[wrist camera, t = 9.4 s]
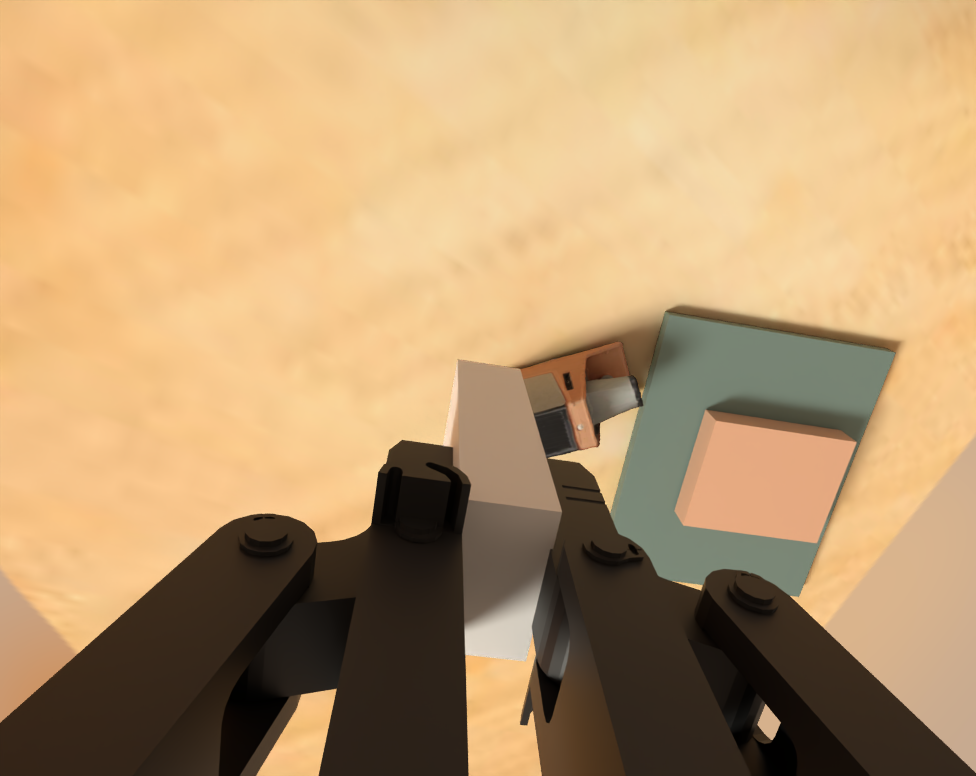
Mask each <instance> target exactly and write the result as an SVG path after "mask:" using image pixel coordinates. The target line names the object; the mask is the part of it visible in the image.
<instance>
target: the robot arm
mask: <svg viewBox="0 0 976 776" xmlns="http://www.w3.org/2000/svg"><path fill="white" fill-rule="evenodd" d="M532 634H533V638H534V644H535V651H536V657H535V661H534V665H533V669H532V673H531V677H530V681H529V685H528V689H527V693H526V697H525V701H524V705H523V709H522V714H521V721H520V725H527V724H528V720H529V716H530V713H531V712H532V711H533V713H534V721H535V728H536V735H537V743H538V750H539V757H540V765H541V772H542V776H976V773H975V772H974V771H973V770H972V769H971V768H970V767H969V766H968V765H967V764H966V763H965V762H964V761H962V760H961V759H960V758H959V757H958V756H957V755H956V754H955V753H954V752H953V751H952V750H951V749H950V748H949V747H948V746H947V745H946V744H945V743H943V741H942V740H940V739H939V738H938V737H937V736H936V735H935V734H934V733H933V732H932V731H931V730H930V729H929V728H928V727H927V726H926V725H925V724H924V723H923V722H922V721H920V719H918V718H917V717H916V716H915V715H914V714H913V713H912V712H911V711H910V710H909V709H908V708H907V707H906V706H905V705H904V704H903V703H902V702H900V701H899V700H898V699H897V698H896V697H895V696H894V695H893V694H892V693H891V692H890V691H889V690H888V689H887V688H886V687H885V686H884V685H883V684H882V683H881V682H880V681H879V680H877V679H876V678H875V677H874V676H873V675H872V674H871V673H870V672H869V671H868V670H867V669H866V668H865V667H864V666H863V665H862V664H861V663H860V662H858V661H857V660H856V659H855V658H854V657H853V656H852V655H851V654H850V653H849V652H848V651H847V650H846V649H845V648H844V647H843V646H842V645H841V644H840V643H839V642H837V641H836V640H835V639H834V638H833V637H832V636H831V635H830V634H829V633H828V632H827V631H826V630H825V629H824V628H823V627H822V626H821V625H820V624H819V623H818V622H816V621H815V620H814V619H813V618H812V617H811V616H810V615H809V614H808V613H807V612H806V611H805V610H804V609H803V608H802V607H801V606H800V605H799V604H798V603H797V602H795V601H794V600H793V599H792V598H791V597H790V596H789V595H788V594H787V593H785V592H784V591H783V590H781V589H780V588H779V587H777V586H776V585H775V584H773V583H771V582H769V581H767V580H765V579H763V578H762V577H761V576H759V575H756V574H754V573H749V572H747V571H743V570H732V569H721V570H716V571H712V572H711V573H710V574H709V575H708V576H707V577H706V578H705V581H704V584H703V587H702V590H701V591H700V590H697V589H694V588H691V587H688V586H685V585H682V584H679V583H675V582H672V581H670V580H667V579H664V578H662V577H659V576H658V575H657V572H656V570H655V568H654V566H653V564H652V562H651V560H650V557H649V556H648V555H647V554H646V552H645V551H644V550H643V548H642V547H640V546H639V545H638V544H636V543H635V542H633V541H632V540H631V539H629V538H627V537H624V536H622V535H620V534H618V532H617V529H616V527H615V524H614V522H613V520H612V517H611V515H610V513H609V510H608V508H607V505H605V501H604V498H603V496H602V494H601V493H600V489H599V486H598V484H597V482H596V479H595V477H594V476H593V475H592V474H591V473H590V472H589V471H588V470H587V469H585V468H584V467H583V466H582V465H581V464H580V463H576V462H569V461H562V460H555V459H548V458H546V455H545V452H544V448H543V445H542V442H541V438H540V435H539V431H538V428H537V425H536V421H535V418H534V414H533V411H532V408H531V404H530V401H529V397H528V394H527V390H526V387H525V384H524V380H523V377H522V373H521V370H520V369H518V368H511V367H505V366H498V365H492V364H485V363H479V362H472V361H466V360H459V359H458V360H457V366H456V372H455V378H454V383H453V389H452V395H451V401H450V407H449V413H448V419H447V425H446V431H445V437H444V443H443V446H441V445H434V444H427V443H420V442H412V441H405V440H402V441H400V442H399V443H398V444H396V445H395V446H394V447H393V448H391V449H390V450H389V453H388V458H387V463H386V464H384V465H383V466H382V468H381V469H380V471H379V472H378V479H377V487H376V494H375V501H374V509H373V516H372V523H371V526H370V527H369V528H368V529H367V530H366V531H364V532H363V533H361V534H359V535H357V536H355V537H352V538H348V539H345V540H340V541H333V542H322V543H317V539H316V536H315V533H314V531H313V530H312V529H311V528H310V527H308V526H307V525H306V524H305V523H304V522H301V521H299V520H296V519H294V518H291V517H289V516H282V515H276V514H255V515H249V516H246V517H242V518H238V519H235V520H233V521H231V522H229V523H228V524H226V525H224V526H223V527H221V528H219V529H218V530H217V531H216V532H215V533H214V534H213V535H212V536H210V537H209V538H208V539H207V540H206V541H205V542H204V543H203V544H201V545H200V546H199V547H198V548H197V549H196V550H195V551H194V552H192V553H191V554H190V555H189V556H188V557H187V558H186V559H184V560H183V561H182V562H181V563H180V564H179V565H178V566H177V567H175V568H174V569H173V570H172V571H171V572H170V573H169V574H168V575H166V576H165V577H164V578H163V579H162V580H161V581H160V582H159V583H157V584H156V585H155V586H154V587H153V588H152V589H151V590H150V591H148V592H147V593H146V594H145V595H144V596H143V597H142V598H141V599H139V600H138V601H137V602H136V603H135V604H134V605H133V606H131V607H130V608H129V609H128V610H127V611H126V612H125V613H124V614H122V615H121V616H120V617H119V618H118V619H117V620H116V621H115V622H113V623H112V624H111V625H110V626H109V627H108V628H107V629H106V630H104V631H103V632H102V633H101V634H100V635H99V636H98V637H97V638H95V639H94V640H93V641H92V642H91V643H90V644H89V645H87V646H86V647H85V648H84V649H83V650H82V651H81V652H80V653H78V654H77V655H76V656H75V657H74V658H73V659H72V660H71V661H70V662H68V663H67V664H66V665H65V666H64V667H63V668H62V669H60V670H59V671H58V672H57V673H56V674H55V675H54V676H53V677H51V678H50V679H49V680H48V681H47V682H46V683H45V684H44V685H43V686H41V687H40V688H39V689H38V690H37V691H36V692H34V693H33V694H32V695H31V696H30V697H29V698H28V699H27V700H25V701H24V702H23V703H22V704H21V705H20V706H19V707H18V708H17V709H15V710H14V711H13V712H12V713H11V714H10V715H9V716H7V717H6V718H5V719H4V720H3V721H2V722H1V723H0V776H256V775H257V773H258V771H259V770H260V768H261V766H262V765H263V763H264V761H265V760H266V758H267V756H268V755H269V753H270V751H271V750H272V748H273V746H274V745H275V743H276V742H277V740H278V738H279V737H280V735H281V733H282V732H283V730H284V728H285V727H286V725H287V723H288V722H289V720H290V718H291V717H292V715H293V713H294V712H295V710H296V708H297V706H298V703H299V700H300V697H301V694H307V693H313V692H319V691H325V690H331V689H337V691H336V695H335V700H334V705H333V710H332V715H331V719H330V724H329V729H328V734H327V738H326V743H325V748H324V753H323V758H322V762H321V767H320V772H319V776H468V738H467V701H466V664H465V655H472V656H482V657H491V658H500V659H510V660H519V661H526V659H527V655H528V651H529V647H530V642H531V638H532ZM765 704H766V705H767V706H768V707H769V708H770V710H771V711H772V712H773V713H774V715H775V716H776V717H777V718H778V719H779V721H780V722H781V724H780V726H779V728H778V731H777V733H776V736H775V737H774V739H773V740H770V739H769V738H768V737H767V736H766V735H765V734H764V733H763V732H762V730H761V729H760V728H759V726H758V725H757V724H758V721H759V719H760V716H761V714H762V711H763V709H764V706H765Z"/></svg>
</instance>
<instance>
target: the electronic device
mask: <svg viewBox="0 0 976 776" xmlns="http://www.w3.org/2000/svg"><path fill="white" fill-rule="evenodd" d="M520 370H521V373H522V377H523V380H524V384H525V387H526V390H527V394H528V397H529V401H530V404H531V408H532V411H533V414H534V418H535V421H536V425H537V428H538V431H539V435H540V438H541V442H542V445H543V448H544V452H545V455H546V458H549V457H553V456H558V455H563V454H566V453H571V452H573V451H577V450H585V449H588V448H592V447H598V446H599V445H600V443H599V441H600V423H601V422H603V421H605V420H607V419H609V418H611V417H614V416H616V415H618V414H620V413H623V412H625V411H628V410H630V409H633V408H636V407H642V406H643V400H642V398H641V393H640V391H639V388H638V383H637V380H636V378H635V377H634V376H632V375H630V374H629V370H628V367H627V362H626V358H625V354H624V350H623V343H622V342H615V343H612V344H607V345H604V346H602V347H598V348H594V349H591V350H587V351H583V352H580V353H576V354H573V355H569V356H565V357H561V358H557V359H551V360H550V361H546V362H542V363H539V364H536V365H534V366H530V367H527V368H523V369H520Z"/></svg>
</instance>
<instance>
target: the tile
mask: <svg viewBox="0 0 976 776" xmlns="http://www.w3.org/2000/svg"><path fill="white" fill-rule="evenodd" d="M856 443H857V442H856V441H855V440H853V439H852V438H851V437H849V436H848V435H847V434H845V433H844V432H843V431H841V430H836V429H830V428H823V427H817V426H810V425H803V424H797V423H790V422H784V421H777V420H771V419H764V418H758V417H751V416H745V415H738V414H731V413H725V412H718V411H712V410H705V412H704V416H703V419H702V422H701V425H700V429H699V432H698V435H697V438H696V442H695V445H694V448H693V452H692V455H691V458H690V461H689V465H688V468H687V471H686V474H685V478H684V481H683V484H682V487H681V491H680V494H679V497H678V500H677V504H676V507H675V510H674V511H675V513H676V514H677V516H678V518H679V519H680V521H681V523H682V524H683V526H691V527H698V528H706V529H713V530H721V531H728V532H736V533H743V534H751V535H758V536H766V537H773V538H781V539H788V540H796V541H803V542H811V543H817V542H818V539H819V537H820V534H821V532H822V529H823V527H824V524H825V522H826V519H827V516H828V514H829V511H830V509H831V506H832V504H833V501H834V499H835V496H836V494H837V491H838V489H839V486H840V484H841V481H842V478H843V476H844V473H845V471H846V468H847V466H848V463H849V461H850V458H851V456H852V453H853V451H854V448H855V446H856Z"/></svg>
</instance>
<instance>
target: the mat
mask: <svg viewBox="0 0 976 776" xmlns="http://www.w3.org/2000/svg"><path fill="white" fill-rule="evenodd" d="M894 356H895V352H893V351H891V350H889V349H887V348H881V347H875V346H869V345H863V344H857V343H851V342H845V341H839V340H833V339H827V338H821V337H815V336H809V335H803V334H797V333H791V332H785V331H779V330H774V329H768V328H762V327H756V326H750V325H744V324H738V323H732V322H726V321H720V320H714V319H708V318H702V317H696V316H690V315H684V314H678V313H672V312H666V311H665V315H664V318H663V322H662V326H661V329H660V333H659V337H658V340H657V344H656V348H655V351H654V355H653V359H652V362H651V366H650V370H649V373H648V377H647V381H646V385H645V388H644V392H643V396H642V400H643V406H642V407H639V410H638V414H637V418H636V421H635V425H634V429H633V432H632V436H631V440H630V443H629V447H628V451H627V455H626V458H625V462H624V466H623V469H622V473H621V477H620V480H619V484H618V488H617V491H616V495H615V499H614V502H613V506H612V510H611V513H610V515H611V517H612V520H613V522H614V524H615V527H616V529H617V532H618V534H620V535H622V536H624V537H627V538H629V539H631V540H632V541H633V542H635V543H636V544H638V545H639V546H640V547H642V548H643V550H644V551H645V552H646V554H647V555H648V556H649V557H650V560H651V562H652V564H653V566H654V568H655V570H656V572H657V575H658V576H659V577H662V578H664V579H667V580H670V581H676V582H684V583H692V584H700V585H703V584H704V581H705V578H706V577H707V576H708V575H709V574H710V573H711V572H712V571H716V570H721V569H732V570H743V571H747V572H749V573H754V574H756V575H759V576H761V577H762V578H763V579H765V580H767V581H769V582H771V583H773V584H775V585H776V586H777V587H779V588H780V589H781V590H783V591H784V592H785V593H787V594H788V595H789V596H797V597H799V595H800V593H801V590H802V588H803V585H804V583H805V580H806V578H807V575H808V573H809V570H810V568H811V565H812V563H813V560H814V558H815V555H816V553H817V550H818V548H819V545H820V542H821V540H822V537H823V535H824V532H825V530H826V527H827V525H828V522H829V520H830V517H831V515H832V512H833V510H834V507H835V505H836V502H837V500H838V497H839V495H840V492H841V489H842V487H843V484H844V482H845V479H846V477H847V474H848V472H849V469H850V467H851V464H852V462H853V459H854V457H855V454H856V452H857V449H858V447H859V444H860V442H861V439H862V437H863V434H864V431H865V429H866V426H867V424H868V421H869V419H870V416H871V414H872V411H873V409H874V406H875V404H876V401H877V399H878V396H879V394H880V391H881V389H882V386H883V384H884V381H885V379H886V376H887V373H888V371H889V368H890V366H891V363H892V361H893V358H894ZM705 410H712V411H718V412H725V413H731V414H738V415H745V416H751V417H758V418H764V419H771V420H777V421H784V422H790V423H797V424H803V425H810V426H817V427H823V428H830V429H836V430H841V431H843V432H844V433H845V434H847V435H848V436H849V437H851V438H852V439H853V440H855V441H856V442H857V443H856V446H855V448H854V451H853V453H852V456H851V458H850V461H849V463H848V466H847V468H846V471H845V473H844V476H843V478H842V481H841V484H840V486H839V489H838V491H837V494H836V496H835V499H834V501H833V504H832V506H831V509H830V511H829V514H828V516H827V519H826V522H825V524H824V527H823V529H822V532H821V534H820V537H819V539H818V542H817V543H811V542H803V541H796V540H788V539H781V538H773V537H766V536H758V535H751V534H743V533H736V532H728V531H721V530H713V529H706V528H698V527H691V526H683V524H682V523H681V521H680V519H679V518H678V516H677V514H676V513H675V511H674V510H675V507H676V504H677V500H678V497H679V494H680V491H681V487H682V484H683V481H684V478H685V474H686V471H687V468H688V465H689V461H690V458H691V455H692V452H693V448H694V445H695V442H696V438H697V435H698V432H699V429H700V425H701V422H702V419H703V416H704V412H705Z"/></svg>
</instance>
